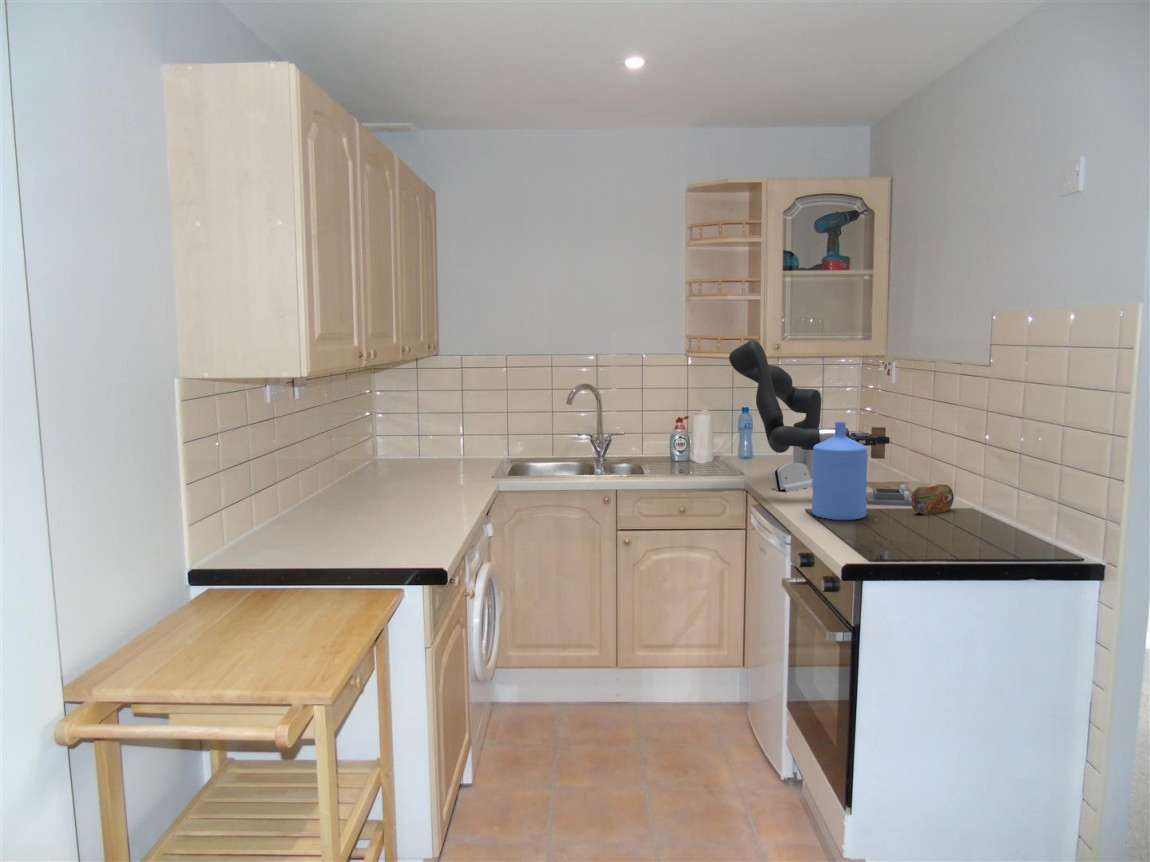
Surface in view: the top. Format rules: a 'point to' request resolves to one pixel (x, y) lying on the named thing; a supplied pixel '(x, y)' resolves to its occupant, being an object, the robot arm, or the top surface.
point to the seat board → (889, 496)
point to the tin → (932, 499)
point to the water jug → (839, 477)
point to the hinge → (792, 477)
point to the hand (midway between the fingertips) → (886, 439)
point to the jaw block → (878, 449)
